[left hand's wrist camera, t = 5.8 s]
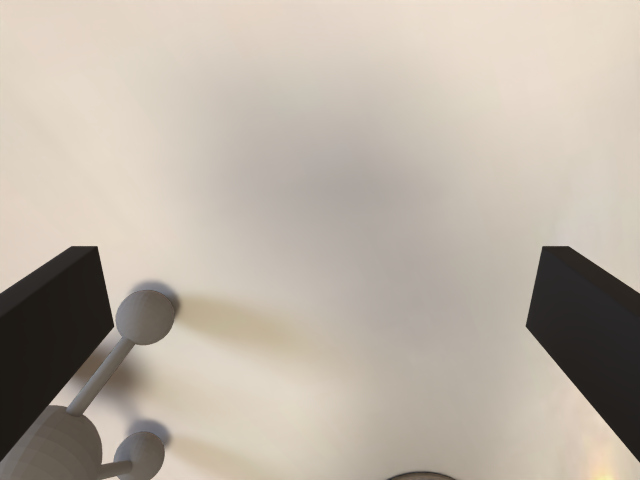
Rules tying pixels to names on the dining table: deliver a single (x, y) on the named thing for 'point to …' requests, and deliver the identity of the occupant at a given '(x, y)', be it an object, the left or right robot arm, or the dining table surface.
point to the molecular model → (78, 431)
